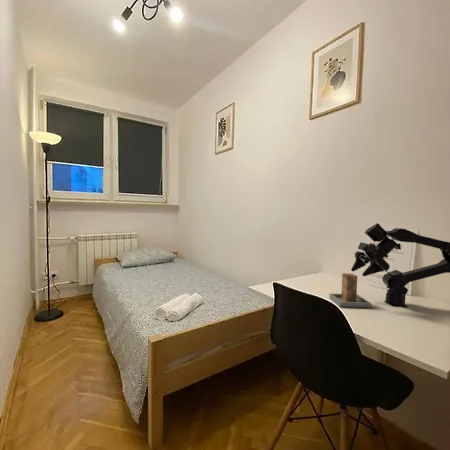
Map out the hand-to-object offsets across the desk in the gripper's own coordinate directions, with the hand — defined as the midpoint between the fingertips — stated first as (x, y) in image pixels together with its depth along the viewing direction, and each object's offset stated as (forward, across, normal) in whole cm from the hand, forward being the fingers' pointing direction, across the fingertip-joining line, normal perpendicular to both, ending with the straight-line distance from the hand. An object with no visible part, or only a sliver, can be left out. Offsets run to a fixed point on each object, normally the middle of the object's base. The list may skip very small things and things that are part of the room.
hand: (357, 273), depth 114 cm
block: (+12, 0, +6) cm, 13 cm away
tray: (+12, +1, +7) cm, 14 cm away
